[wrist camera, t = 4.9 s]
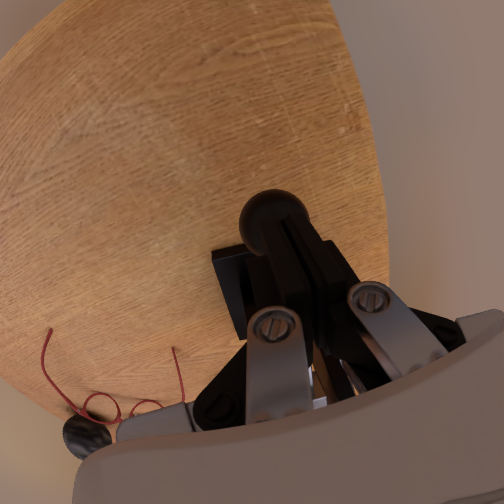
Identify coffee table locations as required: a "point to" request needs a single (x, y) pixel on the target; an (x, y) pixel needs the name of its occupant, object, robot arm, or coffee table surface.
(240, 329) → the bracket
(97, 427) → the decorative stone
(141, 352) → the coffee table surface
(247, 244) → the lever
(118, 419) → the red eyeglasses
